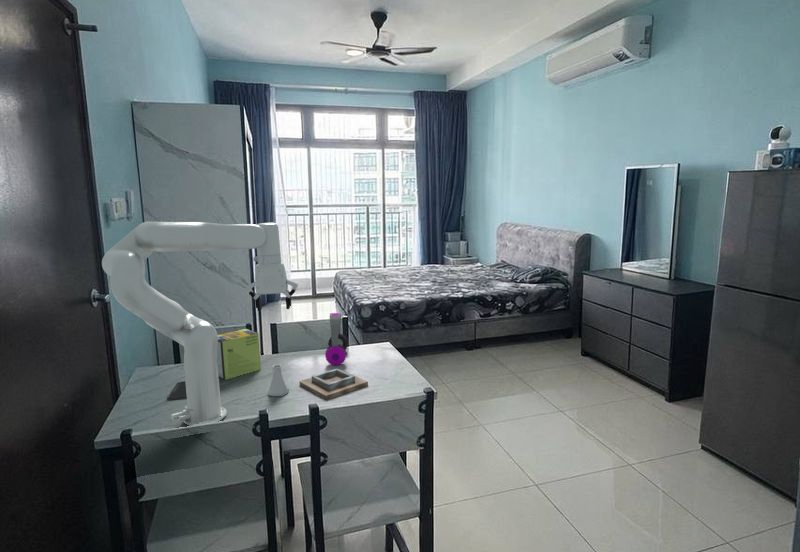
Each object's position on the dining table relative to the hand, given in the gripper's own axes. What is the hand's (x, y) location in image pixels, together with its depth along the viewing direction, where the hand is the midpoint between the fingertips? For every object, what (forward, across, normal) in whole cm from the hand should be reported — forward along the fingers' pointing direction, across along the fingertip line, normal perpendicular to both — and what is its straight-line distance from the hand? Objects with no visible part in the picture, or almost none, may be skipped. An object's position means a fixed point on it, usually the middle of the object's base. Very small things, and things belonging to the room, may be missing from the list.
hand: (274, 309), depth 157 cm
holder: (+31, +18, +5) cm, 36 cm away
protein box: (+31, -22, +24) cm, 45 cm away
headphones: (+32, +18, +35) cm, 51 cm away
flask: (+31, -1, 0) cm, 31 cm away
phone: (+31, -36, +6) cm, 48 cm away
